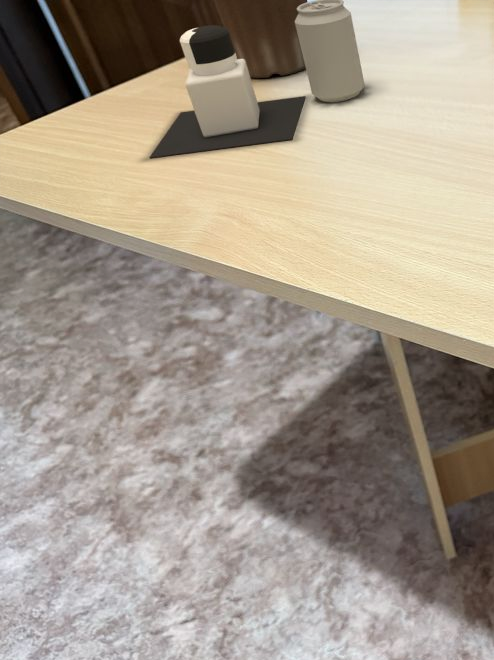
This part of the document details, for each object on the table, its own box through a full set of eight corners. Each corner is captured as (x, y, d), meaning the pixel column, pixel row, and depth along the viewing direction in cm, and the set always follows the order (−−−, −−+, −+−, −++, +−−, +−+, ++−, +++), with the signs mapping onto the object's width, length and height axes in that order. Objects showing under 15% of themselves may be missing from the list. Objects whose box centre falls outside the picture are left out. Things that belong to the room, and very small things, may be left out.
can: (335, 107, 94) (314, 12, 86) (302, 99, 98) (279, 7, 91) (376, 90, 98) (359, -3, 90) (343, 82, 102) (324, -7, 95)
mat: (149, 158, 86) (149, 157, 86) (181, 113, 99) (180, 112, 99) (292, 139, 86) (291, 138, 86) (305, 97, 99) (305, 96, 99)
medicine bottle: (260, 111, 96) (233, 18, 88) (259, 129, 90) (229, 31, 82) (208, 120, 95) (176, 27, 87) (203, 138, 89) (169, 41, 82)
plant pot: (349, 53, 114) (326, -59, 104) (287, 86, 103) (255, -34, 93) (273, 49, 121) (245, -56, 111) (208, 80, 110) (171, -33, 100)
